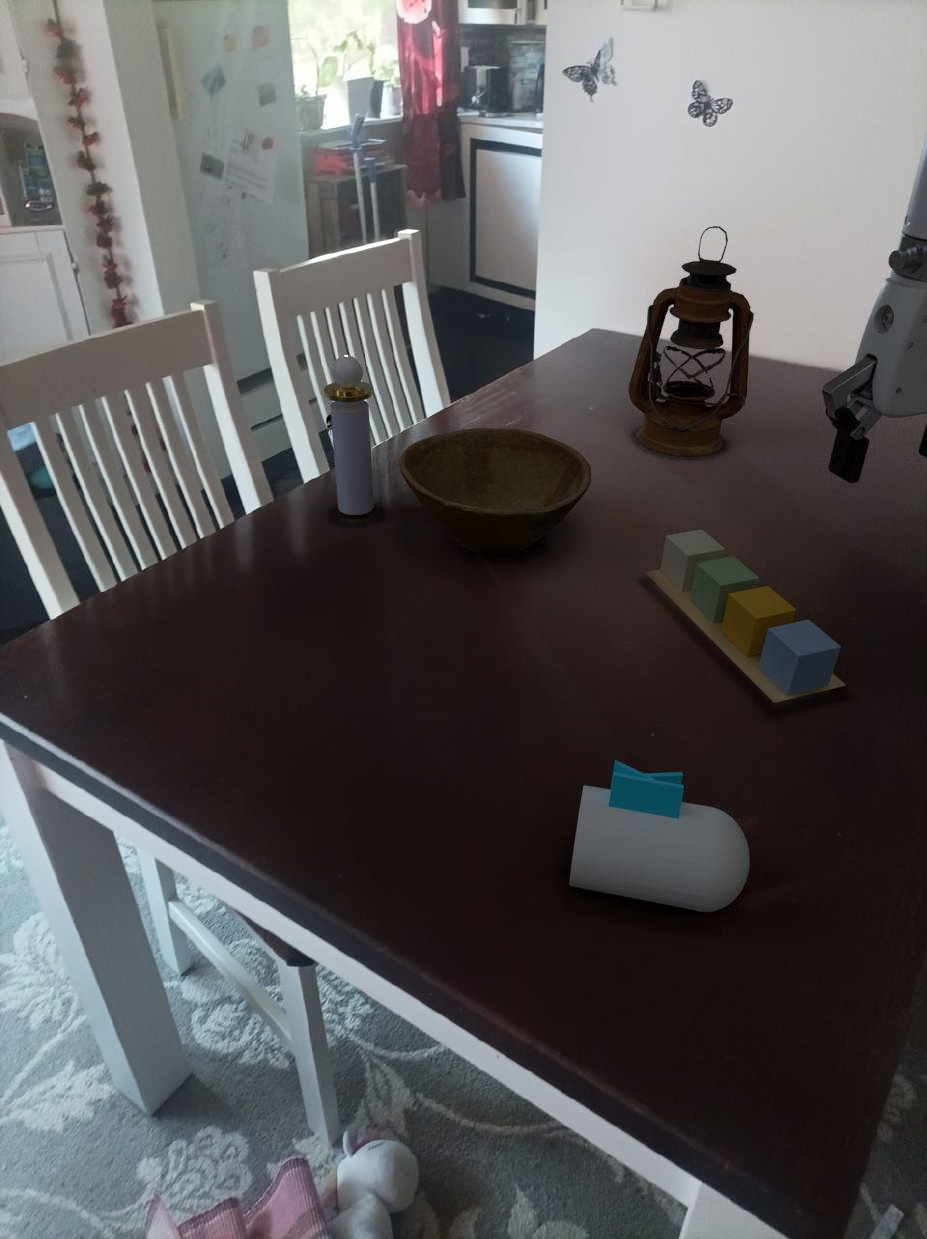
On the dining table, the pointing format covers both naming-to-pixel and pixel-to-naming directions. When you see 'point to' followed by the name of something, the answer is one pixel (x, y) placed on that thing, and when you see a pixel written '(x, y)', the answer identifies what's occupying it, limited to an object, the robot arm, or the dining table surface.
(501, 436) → the bowl
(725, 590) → the sage block
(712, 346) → the lantern
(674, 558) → the cream block
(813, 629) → the blue block
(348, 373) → the perfume bottle
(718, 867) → the grey rounded block
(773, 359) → the dining table surface
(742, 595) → the mustard block
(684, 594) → the board
